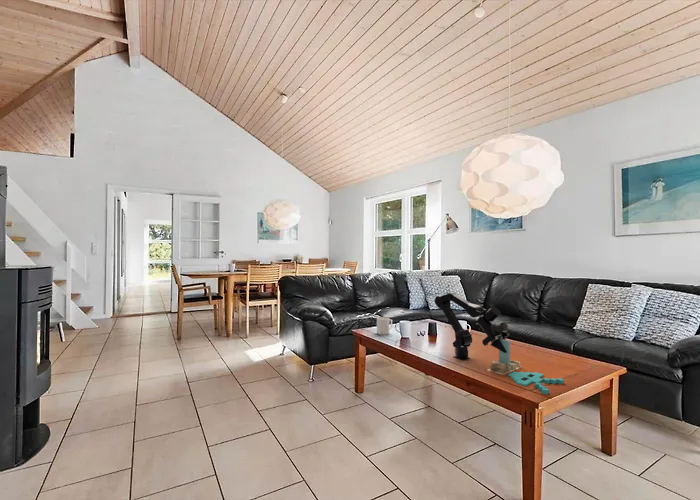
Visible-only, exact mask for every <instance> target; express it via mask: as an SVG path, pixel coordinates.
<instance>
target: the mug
mask: <svg viewBox="0 0 700 500" xmlns="http://www.w3.org/2000/svg"><path fill="white" fill-rule="evenodd" d="M392 328H393V319H390V317H386V316H379V317H378V316H377V318H376V333H377V335H380V336H388V335H389V333H390V330H391V329H392Z"/></svg>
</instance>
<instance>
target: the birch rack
mask: <svg viewBox="0 0 700 500" xmlns="http://www.w3.org/2000/svg"><path fill="white" fill-rule="evenodd" d="M497 361H498V362H499V360H497ZM506 367H507V368H508V372H506V373H504V374H503V373H499V372H496V371H492V370H490V368H488V369H487V371H488V372H491V373H496V374H498V375H501V376H506V375H507V374H510V373H512V372H514V371H516V370H518V369H521V368H522V366H521V361H517V360H512V359H510V365H506Z"/></svg>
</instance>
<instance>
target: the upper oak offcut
mask: <svg viewBox="0 0 700 500" xmlns="http://www.w3.org/2000/svg"><path fill="white" fill-rule="evenodd" d="M498 361H499V360H493V361H491V362H490V364H491V365H490V366H492V367H497V368H501V369H504V368H506V363H503V362H498Z"/></svg>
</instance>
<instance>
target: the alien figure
mask: <svg viewBox="0 0 700 500" xmlns="http://www.w3.org/2000/svg"><path fill="white" fill-rule="evenodd" d="M507 374H508V375H507V376H508V377H509V378H510V379H511V380H513V382H515V384H516V385H520V386H523V387H528V386H529V385H531V384H534V387H535V388H536V389H537V390H538V391H539V390H540V393H541V394H544V395H546V394H547V395H549V394H550V389H549V388H547V387H546V386H545V385H543V384H547V385H548V384H553V385H556V384H559V385H564V383H565V379H563V378H557V379H556V378H553V377H551V378H547V377H544V376H545V375H544V374H543V373H540V372H537V371H533V372H530V371H526V372H524V371H519V372H518V371H516V370H514V371H512V372H510V373H507ZM543 377H544V378H543Z"/></svg>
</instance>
